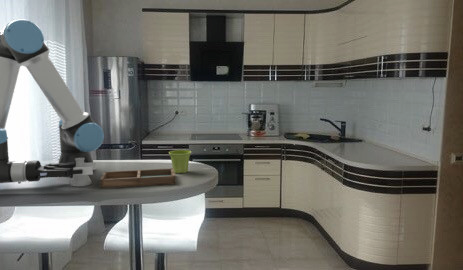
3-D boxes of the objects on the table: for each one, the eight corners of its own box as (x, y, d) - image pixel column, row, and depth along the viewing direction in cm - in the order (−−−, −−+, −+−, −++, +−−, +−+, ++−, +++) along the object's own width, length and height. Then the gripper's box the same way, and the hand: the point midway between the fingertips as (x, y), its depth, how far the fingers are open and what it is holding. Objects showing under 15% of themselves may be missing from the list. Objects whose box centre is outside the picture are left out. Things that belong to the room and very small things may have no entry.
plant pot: (182, 175, 156) (181, 154, 155) (164, 172, 161) (164, 152, 160) (195, 171, 164) (195, 151, 162) (179, 168, 169) (178, 149, 167)
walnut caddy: (104, 179, 150) (103, 171, 149) (173, 175, 156) (172, 168, 155) (100, 188, 136) (99, 180, 136) (175, 183, 142) (175, 176, 142)
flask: (84, 187, 137) (82, 160, 136) (66, 186, 139) (64, 159, 137) (95, 182, 144) (94, 157, 143) (78, 181, 146) (76, 156, 144)
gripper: (36, 175, 147) (98, 172, 152) (18, 188, 127) (90, 184, 132) (34, 156, 146) (97, 153, 151) (17, 166, 126) (89, 163, 131)
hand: (94, 168), depth 142 cm, fingers open, 8 cm apart
